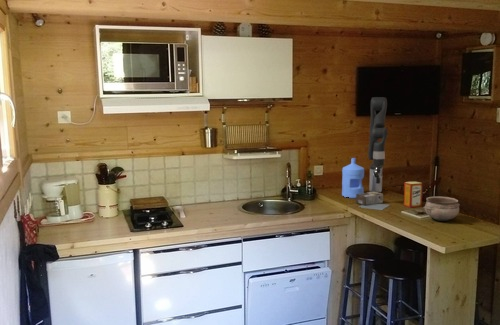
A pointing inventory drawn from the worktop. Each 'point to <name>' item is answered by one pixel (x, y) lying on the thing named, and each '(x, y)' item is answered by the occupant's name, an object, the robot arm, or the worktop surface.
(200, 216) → the worktop surface
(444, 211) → the cooking pot
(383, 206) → the mat
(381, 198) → the coffee box
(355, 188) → the water jug
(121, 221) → the worktop surface
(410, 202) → the baking soda box
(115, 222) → the worktop surface
